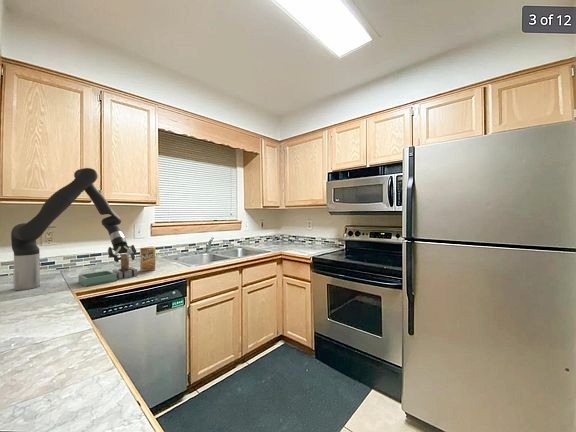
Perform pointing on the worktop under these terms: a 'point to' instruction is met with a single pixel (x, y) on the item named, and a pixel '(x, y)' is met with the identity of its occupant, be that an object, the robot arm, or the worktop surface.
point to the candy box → (147, 258)
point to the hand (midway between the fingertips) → (125, 260)
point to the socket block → (125, 273)
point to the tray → (97, 278)
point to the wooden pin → (124, 262)
